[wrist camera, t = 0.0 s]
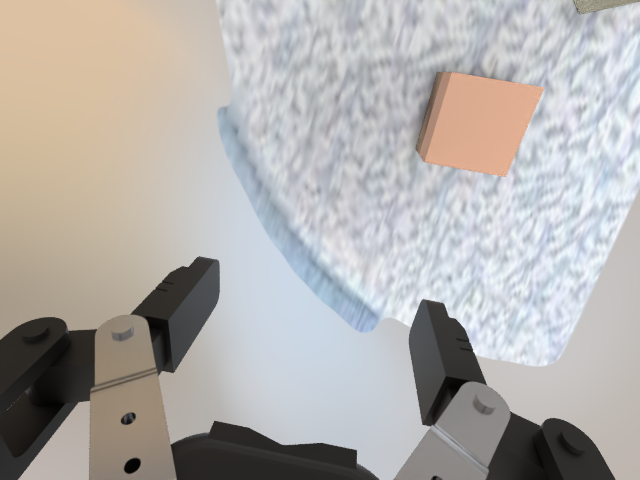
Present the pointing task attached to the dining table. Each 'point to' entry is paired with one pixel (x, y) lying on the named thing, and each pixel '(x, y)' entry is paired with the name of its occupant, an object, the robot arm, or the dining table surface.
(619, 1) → the skincare box
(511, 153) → the terracotta slab
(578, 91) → the dining table surface
